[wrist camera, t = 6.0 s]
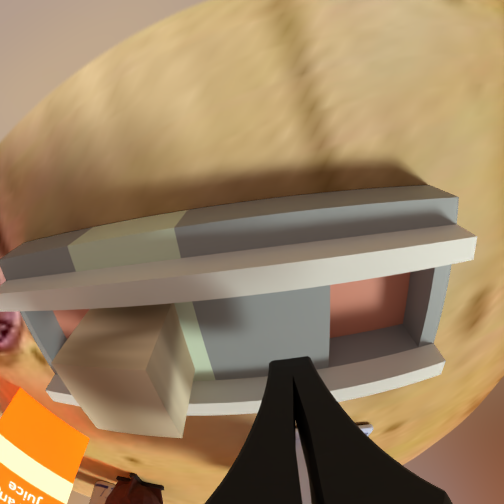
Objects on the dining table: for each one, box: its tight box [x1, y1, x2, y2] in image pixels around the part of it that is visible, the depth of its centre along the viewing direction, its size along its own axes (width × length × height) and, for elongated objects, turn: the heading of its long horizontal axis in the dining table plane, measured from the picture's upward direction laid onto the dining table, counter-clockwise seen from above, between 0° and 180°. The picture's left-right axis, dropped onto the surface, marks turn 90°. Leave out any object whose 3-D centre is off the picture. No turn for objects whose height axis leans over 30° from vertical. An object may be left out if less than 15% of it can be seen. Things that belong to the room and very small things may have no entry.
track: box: [0, 185, 477, 416], centre depth 13 cm, size 22×10×4 cm, turn 98°
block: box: [51, 303, 195, 438], centre depth 10 cm, size 4×4×4 cm
